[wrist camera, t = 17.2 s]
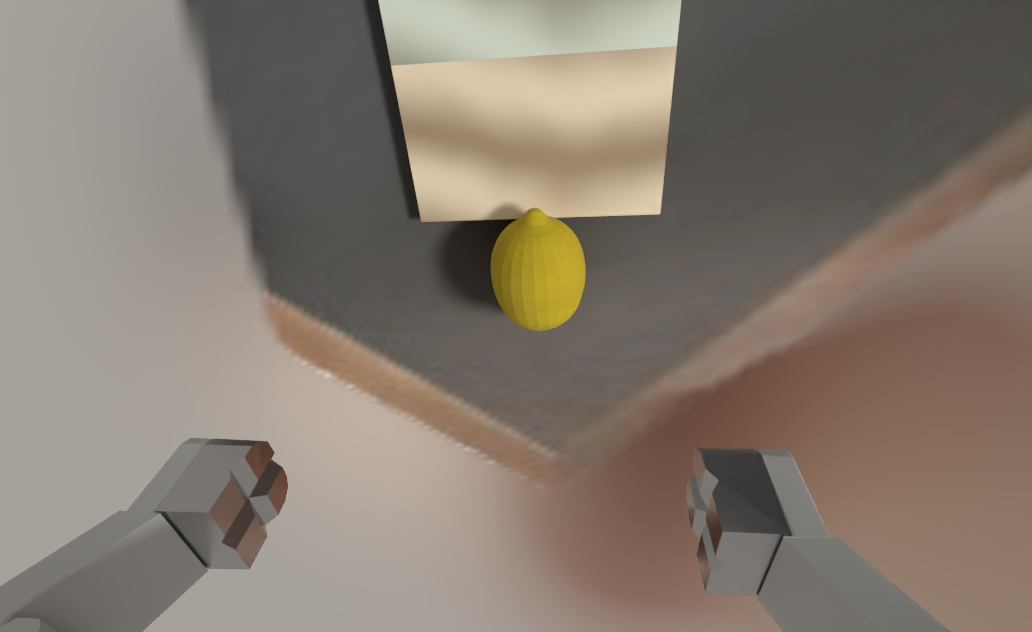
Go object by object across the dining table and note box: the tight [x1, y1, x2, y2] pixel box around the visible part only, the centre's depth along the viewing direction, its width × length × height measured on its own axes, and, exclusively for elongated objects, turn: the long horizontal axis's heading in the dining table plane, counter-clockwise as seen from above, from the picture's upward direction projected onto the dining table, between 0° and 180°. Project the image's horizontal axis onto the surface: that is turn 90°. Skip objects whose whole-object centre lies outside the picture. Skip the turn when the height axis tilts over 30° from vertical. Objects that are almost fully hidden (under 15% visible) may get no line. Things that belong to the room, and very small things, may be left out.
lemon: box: [491, 208, 586, 331], centre depth 29 cm, size 6×6×8 cm
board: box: [378, 0, 681, 222], centre depth 25 cm, size 17×14×1 cm
